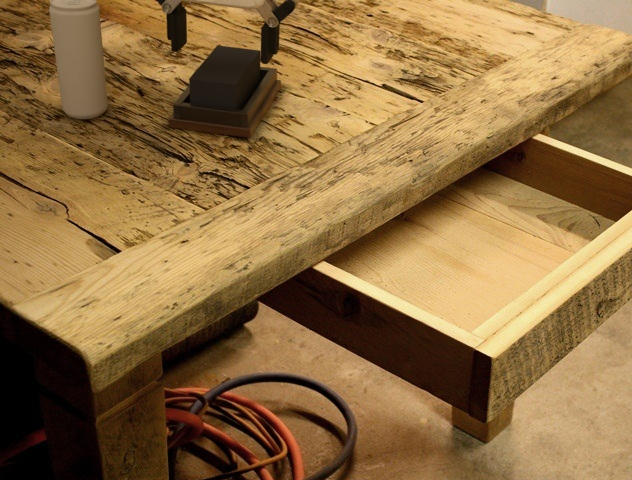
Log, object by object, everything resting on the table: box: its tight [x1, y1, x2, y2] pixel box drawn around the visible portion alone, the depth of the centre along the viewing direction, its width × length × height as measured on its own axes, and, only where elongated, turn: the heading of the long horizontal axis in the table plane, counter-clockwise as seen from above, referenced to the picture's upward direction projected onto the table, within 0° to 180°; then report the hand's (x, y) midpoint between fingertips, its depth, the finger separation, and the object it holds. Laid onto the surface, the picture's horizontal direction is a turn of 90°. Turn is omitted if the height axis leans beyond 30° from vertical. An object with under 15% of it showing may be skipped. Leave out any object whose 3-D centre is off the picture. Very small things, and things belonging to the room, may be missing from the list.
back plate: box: [168, 66, 282, 139], centre depth 101 cm, size 14×9×2 cm, turn 170°
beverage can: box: [48, 0, 109, 120], centre depth 96 cm, size 5×5×12 cm
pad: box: [188, 44, 261, 110], centre depth 100 cm, size 10×5×4 cm, turn 170°
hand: (223, 53), depth 98 cm, fingers open, 9 cm apart
